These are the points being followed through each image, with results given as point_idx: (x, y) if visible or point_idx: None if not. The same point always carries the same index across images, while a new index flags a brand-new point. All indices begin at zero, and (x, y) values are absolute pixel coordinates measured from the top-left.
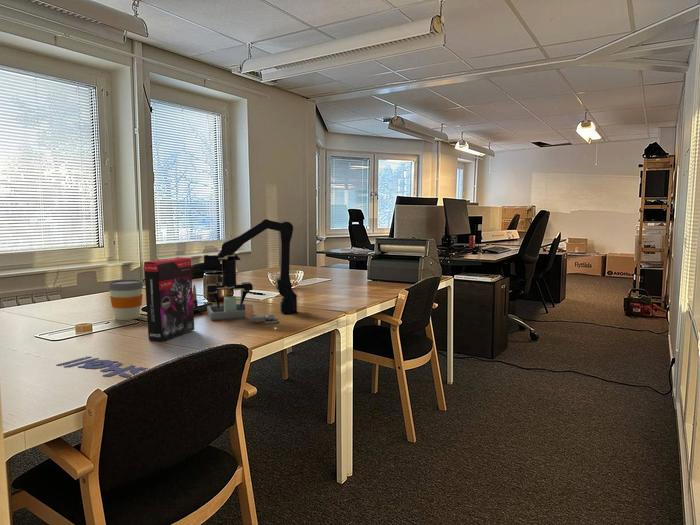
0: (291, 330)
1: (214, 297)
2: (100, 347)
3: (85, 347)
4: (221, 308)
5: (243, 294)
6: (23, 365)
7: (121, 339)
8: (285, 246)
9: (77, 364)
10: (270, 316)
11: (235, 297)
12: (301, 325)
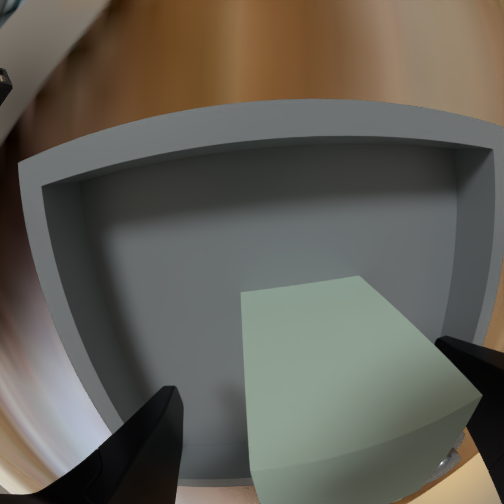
0: (422, 491)
1: (74, 485)
2: (23, 488)
3: (4, 475)
4: (204, 151)
5: (500, 477)
6: (7, 489)
7: (14, 472)
8: None
9: None
10: (436, 478)
11: (437, 466)
12: (470, 454)
